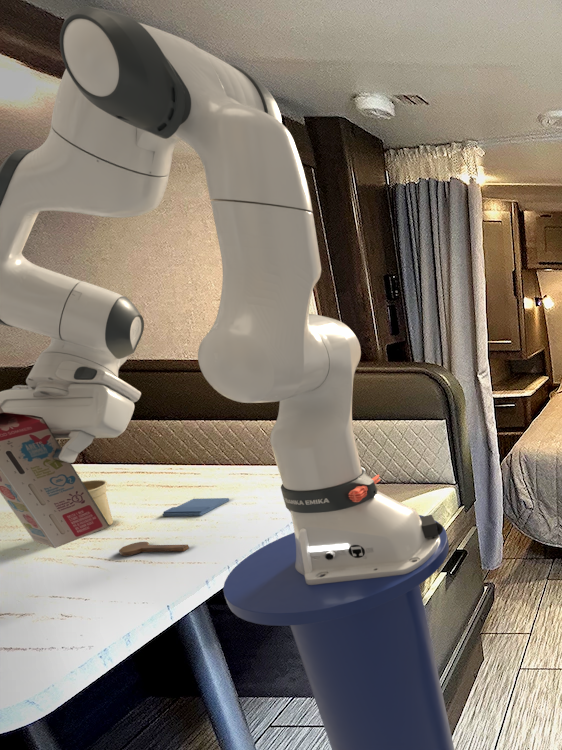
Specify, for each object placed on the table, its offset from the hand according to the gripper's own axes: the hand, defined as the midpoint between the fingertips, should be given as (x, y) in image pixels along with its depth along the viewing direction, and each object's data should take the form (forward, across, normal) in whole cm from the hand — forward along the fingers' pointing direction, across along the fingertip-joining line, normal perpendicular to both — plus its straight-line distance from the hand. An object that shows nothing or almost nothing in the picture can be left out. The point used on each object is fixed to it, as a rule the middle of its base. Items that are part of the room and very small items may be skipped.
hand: (32, 462), depth 75 cm
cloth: (-6, -6, +35) cm, 36 cm away
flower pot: (+1, -20, +29) cm, 35 cm away
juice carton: (+8, 0, +9) cm, 12 cm away
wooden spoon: (+8, +2, +22) cm, 23 cm away
